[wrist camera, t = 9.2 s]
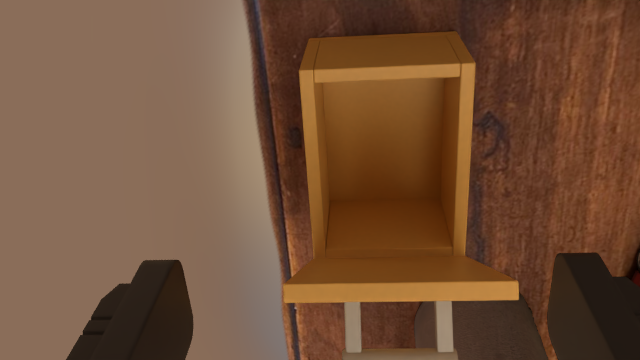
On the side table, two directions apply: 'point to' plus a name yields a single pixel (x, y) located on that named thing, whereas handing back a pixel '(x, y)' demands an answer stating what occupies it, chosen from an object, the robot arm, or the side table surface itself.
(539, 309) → the side table surface
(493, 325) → the pillar candle
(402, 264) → the lid
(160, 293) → the robot arm
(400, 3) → the side table surface
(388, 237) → the case
